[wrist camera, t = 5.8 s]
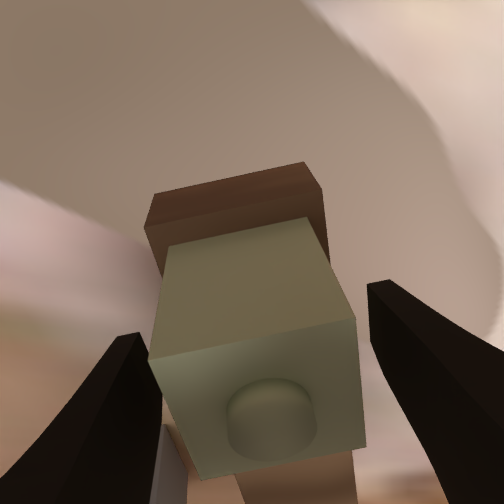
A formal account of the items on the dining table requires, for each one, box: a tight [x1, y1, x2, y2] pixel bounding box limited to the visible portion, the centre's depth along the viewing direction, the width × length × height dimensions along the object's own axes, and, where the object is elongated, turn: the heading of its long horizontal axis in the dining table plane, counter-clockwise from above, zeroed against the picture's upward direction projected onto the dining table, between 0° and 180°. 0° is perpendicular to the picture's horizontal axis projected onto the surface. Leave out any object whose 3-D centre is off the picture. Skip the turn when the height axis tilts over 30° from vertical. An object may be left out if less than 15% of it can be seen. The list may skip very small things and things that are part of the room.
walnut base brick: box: [144, 162, 358, 504], centre depth 16 cm, size 16×5×2 cm, turn 11°
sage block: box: [148, 217, 366, 481], centre depth 10 cm, size 4×4×5 cm
